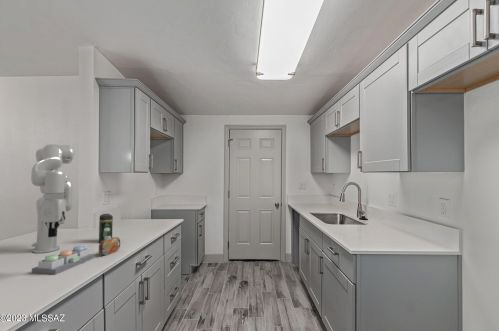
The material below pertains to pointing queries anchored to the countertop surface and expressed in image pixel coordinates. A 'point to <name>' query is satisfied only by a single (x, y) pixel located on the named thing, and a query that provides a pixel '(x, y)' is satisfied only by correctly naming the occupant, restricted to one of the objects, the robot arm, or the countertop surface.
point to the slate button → (78, 248)
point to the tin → (109, 246)
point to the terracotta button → (66, 253)
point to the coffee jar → (105, 227)
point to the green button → (51, 258)
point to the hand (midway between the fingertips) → (52, 236)
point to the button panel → (63, 263)
